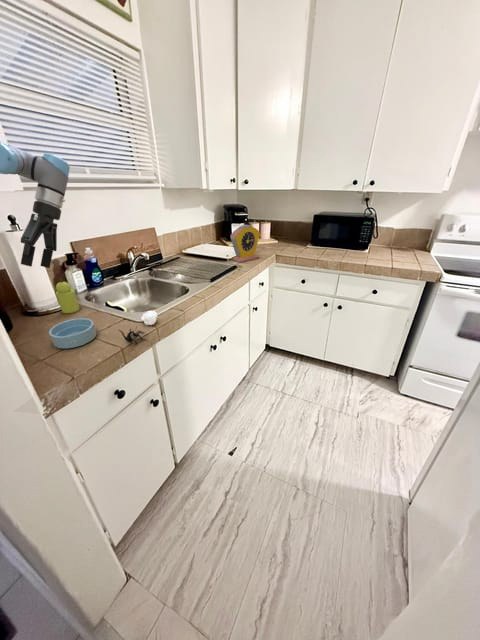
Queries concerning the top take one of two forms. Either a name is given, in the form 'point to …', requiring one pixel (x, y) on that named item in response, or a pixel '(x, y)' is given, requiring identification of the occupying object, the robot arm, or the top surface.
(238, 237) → the yellow mantel clock
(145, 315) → the dumpling
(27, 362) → the top surface
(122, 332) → the creature
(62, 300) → the yellow-green bottle
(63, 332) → the bowl
